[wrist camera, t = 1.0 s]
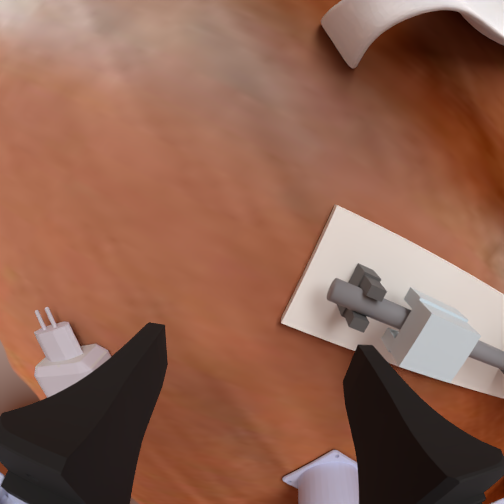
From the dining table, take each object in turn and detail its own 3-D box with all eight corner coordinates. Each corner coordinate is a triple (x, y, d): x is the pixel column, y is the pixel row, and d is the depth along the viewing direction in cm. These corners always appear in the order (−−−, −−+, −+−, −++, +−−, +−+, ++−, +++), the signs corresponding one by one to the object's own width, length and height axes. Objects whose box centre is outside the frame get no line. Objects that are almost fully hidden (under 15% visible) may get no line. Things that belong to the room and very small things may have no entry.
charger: (85, 290, 28) (148, 414, 31) (30, 307, 29) (89, 416, 32) (57, 309, 23) (133, 442, 26) (3, 324, 25) (71, 439, 28)
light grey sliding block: (456, 309, 21) (482, 333, 17) (428, 356, 22) (448, 385, 18) (410, 287, 21) (433, 310, 17) (381, 338, 22) (396, 368, 18)
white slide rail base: (544, 321, 24) (572, 342, 18) (499, 393, 26) (520, 421, 21) (334, 204, 23) (350, 213, 18) (281, 317, 26) (280, 353, 21)
